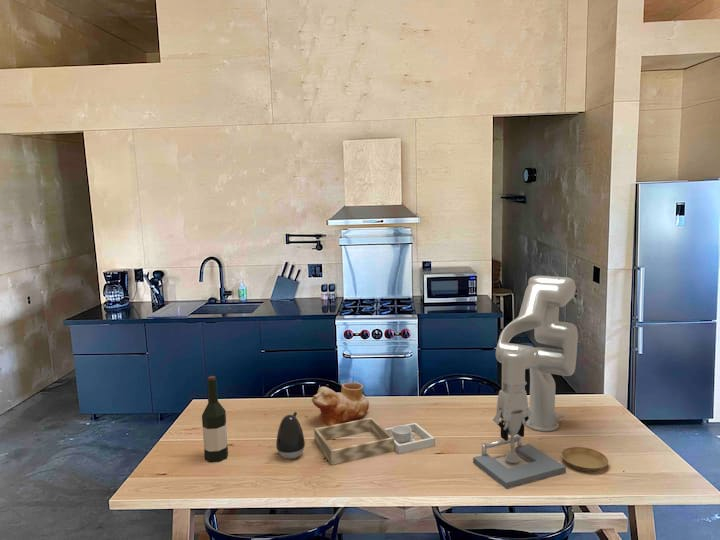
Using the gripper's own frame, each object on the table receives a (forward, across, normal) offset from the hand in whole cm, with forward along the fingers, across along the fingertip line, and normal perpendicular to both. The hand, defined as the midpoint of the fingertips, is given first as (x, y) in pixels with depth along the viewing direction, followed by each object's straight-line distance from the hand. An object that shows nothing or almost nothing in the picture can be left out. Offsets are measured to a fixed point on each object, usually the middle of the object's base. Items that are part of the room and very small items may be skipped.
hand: (512, 436), depth 181 cm
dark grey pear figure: (+9, +68, -37) cm, 78 cm away
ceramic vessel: (+10, +40, -60) cm, 73 cm away
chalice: (+8, 0, 0) cm, 8 cm away
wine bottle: (+9, +93, -47) cm, 105 cm away
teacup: (+10, +27, -31) cm, 42 cm away
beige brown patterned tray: (+9, +45, -34) cm, 58 cm away
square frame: (+9, +25, -29) cm, 40 cm away
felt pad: (+9, 0, 0) cm, 9 cm away
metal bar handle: (+9, 0, -5) cm, 11 cm away
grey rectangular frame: (+9, 0, +4) cm, 10 cm away
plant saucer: (+10, -22, +11) cm, 26 cm away
